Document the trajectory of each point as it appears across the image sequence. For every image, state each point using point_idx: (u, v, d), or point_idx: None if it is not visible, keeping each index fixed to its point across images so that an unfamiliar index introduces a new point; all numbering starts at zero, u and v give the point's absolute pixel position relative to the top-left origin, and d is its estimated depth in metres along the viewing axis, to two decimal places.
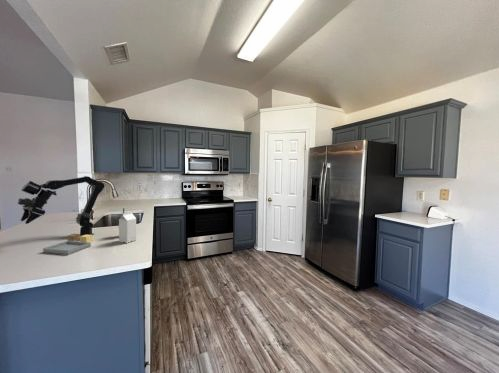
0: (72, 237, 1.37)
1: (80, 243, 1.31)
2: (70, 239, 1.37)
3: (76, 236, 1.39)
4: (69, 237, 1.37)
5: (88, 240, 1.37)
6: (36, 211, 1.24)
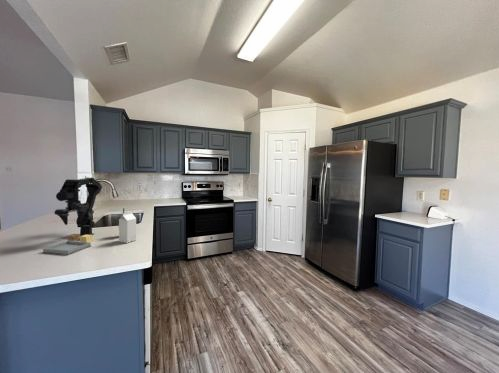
0: (72, 237, 1.37)
1: (80, 243, 1.31)
2: (70, 239, 1.37)
3: (76, 236, 1.39)
4: (69, 237, 1.37)
5: (88, 240, 1.37)
6: None
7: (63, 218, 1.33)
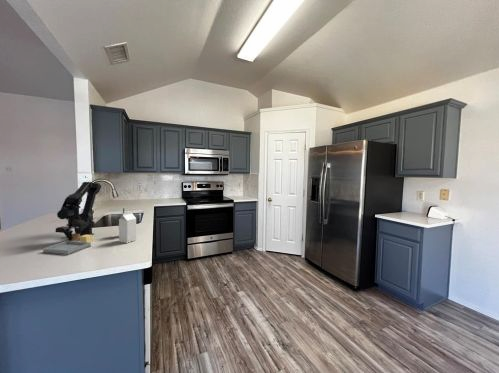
0: (72, 237, 1.37)
1: (80, 243, 1.31)
2: None
3: (76, 236, 1.39)
4: None
5: (88, 240, 1.37)
6: None
7: (67, 234, 1.36)
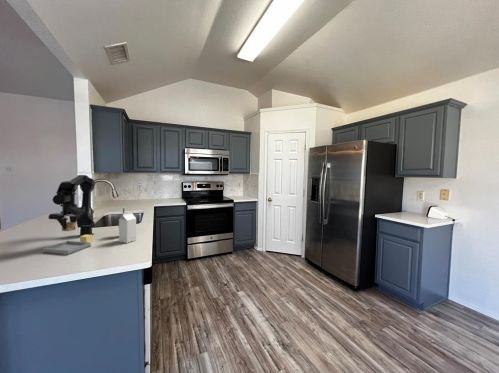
0: (67, 225, 1.28)
1: (80, 243, 1.31)
2: None
3: (71, 224, 1.30)
4: None
5: (88, 240, 1.37)
6: None
7: (61, 222, 1.27)
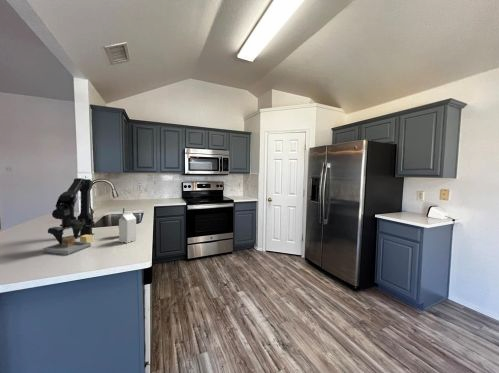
0: (66, 241, 1.27)
1: (80, 243, 1.31)
2: (64, 243, 1.27)
3: (70, 240, 1.28)
4: (63, 241, 1.27)
5: (88, 240, 1.37)
6: None
7: (57, 237, 1.23)
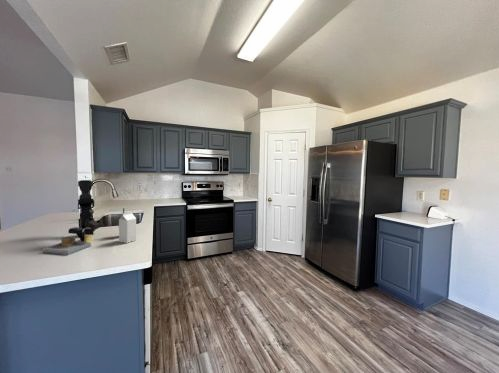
0: (66, 241, 1.27)
1: (80, 243, 1.31)
2: (64, 243, 1.27)
3: (70, 240, 1.28)
4: (63, 241, 1.27)
5: (88, 240, 1.37)
6: None
7: (80, 235, 1.35)
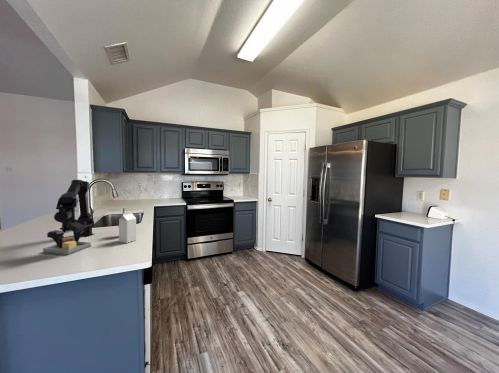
0: (66, 241, 1.27)
1: (80, 243, 1.31)
2: None
3: (70, 240, 1.28)
4: (63, 241, 1.27)
5: (71, 247, 1.21)
6: None
7: (57, 241, 1.16)
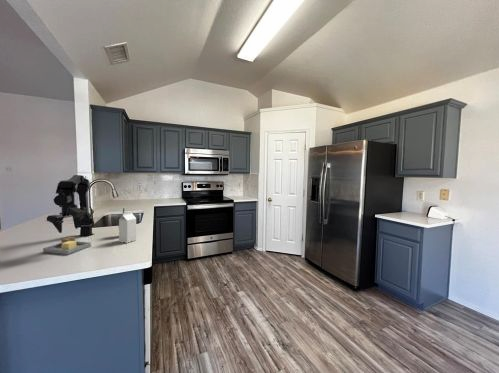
0: (66, 241, 1.27)
1: (80, 243, 1.31)
2: None
3: (70, 240, 1.28)
4: (63, 241, 1.27)
5: (71, 247, 1.21)
6: None
7: (57, 225, 1.16)
